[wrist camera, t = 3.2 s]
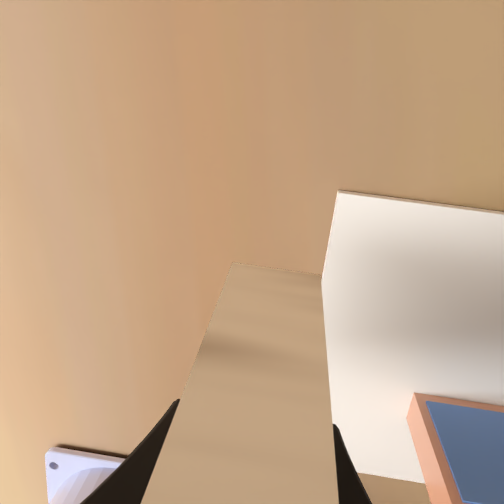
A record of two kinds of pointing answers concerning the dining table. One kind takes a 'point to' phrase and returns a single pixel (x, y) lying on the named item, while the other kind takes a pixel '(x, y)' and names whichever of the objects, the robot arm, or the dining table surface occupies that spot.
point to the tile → (459, 448)
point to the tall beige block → (254, 400)
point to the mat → (409, 319)
